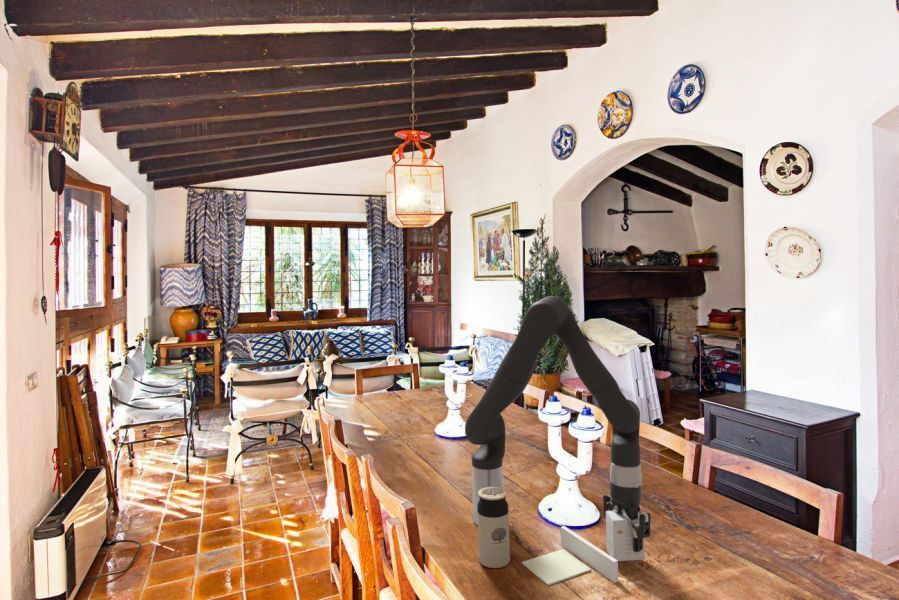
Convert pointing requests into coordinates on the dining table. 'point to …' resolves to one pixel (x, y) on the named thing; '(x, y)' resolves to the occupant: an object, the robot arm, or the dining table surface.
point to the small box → (621, 538)
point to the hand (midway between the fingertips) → (626, 544)
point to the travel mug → (493, 527)
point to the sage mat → (556, 567)
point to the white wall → (590, 554)
